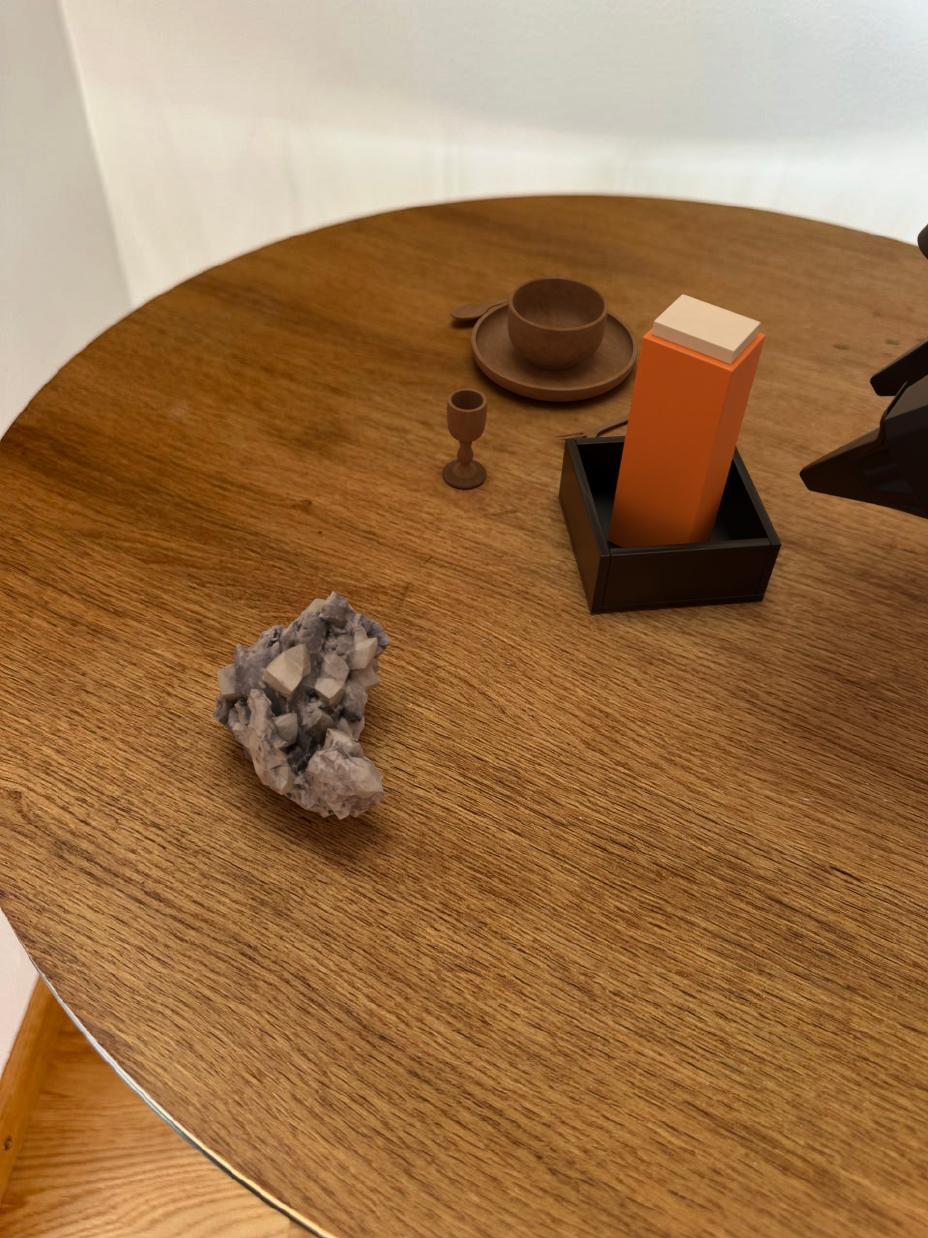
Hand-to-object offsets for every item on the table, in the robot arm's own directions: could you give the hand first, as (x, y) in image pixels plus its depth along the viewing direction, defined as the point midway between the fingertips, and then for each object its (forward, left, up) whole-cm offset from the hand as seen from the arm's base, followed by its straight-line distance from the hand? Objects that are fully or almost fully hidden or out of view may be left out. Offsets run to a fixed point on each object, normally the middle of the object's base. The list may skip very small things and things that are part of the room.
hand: (840, 431), depth 53 cm
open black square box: (+7, -4, -12) cm, 15 cm away
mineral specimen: (+26, +11, -13) cm, 31 cm away
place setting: (+16, -21, -13) cm, 29 cm away
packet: (+7, -4, -12) cm, 14 cm away
